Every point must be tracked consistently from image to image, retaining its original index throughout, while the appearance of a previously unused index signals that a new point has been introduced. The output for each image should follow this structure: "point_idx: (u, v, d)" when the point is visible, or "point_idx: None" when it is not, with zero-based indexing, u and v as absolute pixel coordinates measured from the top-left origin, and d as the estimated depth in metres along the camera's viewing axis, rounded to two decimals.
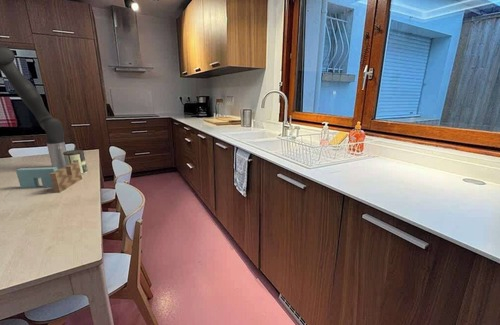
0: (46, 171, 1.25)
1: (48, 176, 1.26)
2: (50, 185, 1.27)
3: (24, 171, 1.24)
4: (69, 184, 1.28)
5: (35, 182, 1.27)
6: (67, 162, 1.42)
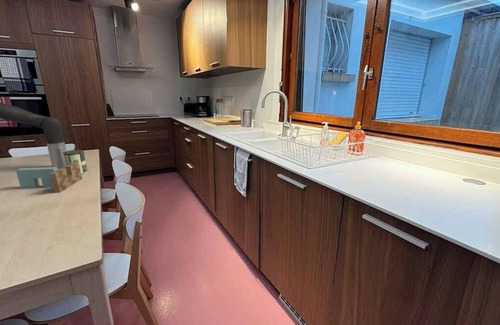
0: (46, 171, 1.25)
1: (48, 176, 1.26)
2: (50, 185, 1.27)
3: (24, 171, 1.24)
4: (69, 184, 1.28)
5: (35, 182, 1.27)
6: (67, 162, 1.42)
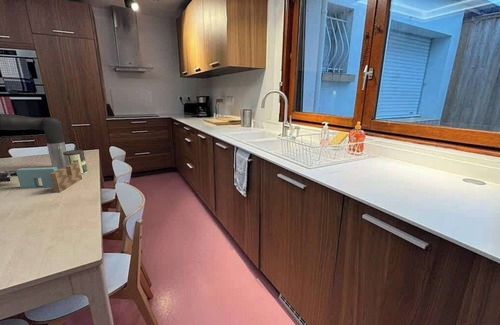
0: (46, 171, 1.25)
1: (48, 176, 1.26)
2: (50, 185, 1.27)
3: (24, 171, 1.24)
4: (69, 184, 1.28)
5: (35, 182, 1.27)
6: (67, 162, 1.42)
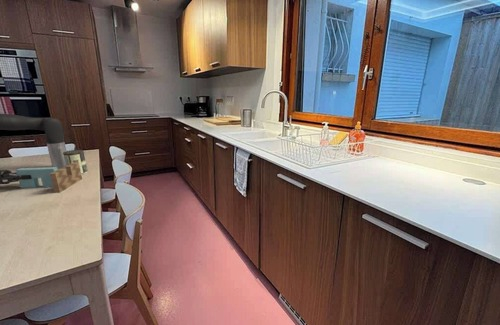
0: (46, 171, 1.25)
1: (48, 176, 1.26)
2: (50, 185, 1.27)
3: (24, 171, 1.24)
4: (69, 184, 1.28)
5: (35, 182, 1.27)
6: (67, 162, 1.42)
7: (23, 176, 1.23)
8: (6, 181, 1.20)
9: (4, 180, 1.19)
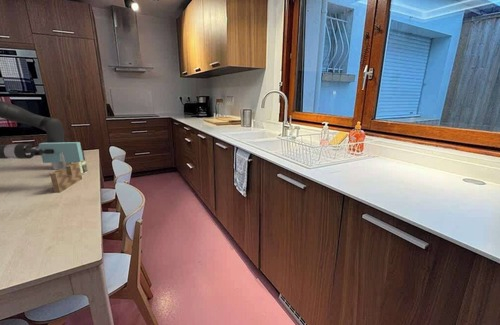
0: (69, 145, 1.23)
1: (71, 151, 1.23)
2: (73, 160, 1.25)
3: (47, 145, 1.21)
4: (69, 184, 1.28)
5: (57, 157, 1.24)
6: (67, 162, 1.42)
7: (46, 150, 1.21)
8: (29, 154, 1.17)
9: (27, 153, 1.17)
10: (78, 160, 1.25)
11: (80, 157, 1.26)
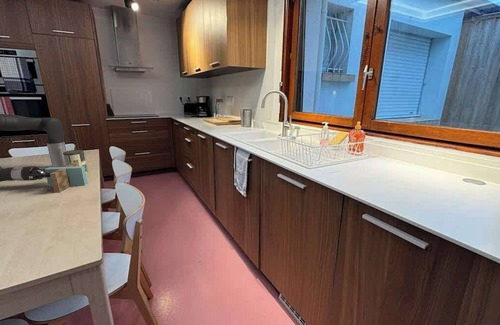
0: (74, 170, 1.26)
1: (76, 175, 1.27)
2: (78, 184, 1.29)
3: (53, 170, 1.25)
4: (69, 184, 1.28)
5: None
6: (67, 162, 1.42)
7: (46, 174, 1.22)
8: (31, 178, 1.20)
9: (29, 177, 1.20)
10: (83, 184, 1.29)
11: (85, 181, 1.29)
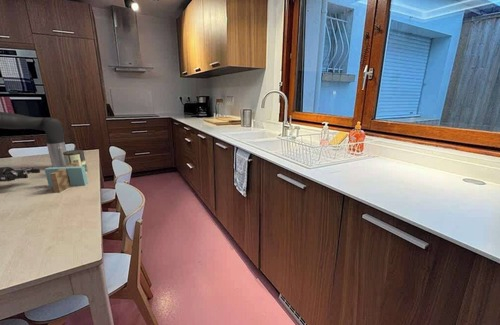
0: (74, 170, 1.26)
1: (76, 175, 1.27)
2: (78, 184, 1.29)
3: (53, 170, 1.25)
4: (69, 184, 1.28)
5: None
6: (67, 162, 1.42)
7: (19, 175, 1.21)
8: (3, 179, 1.19)
9: (2, 178, 1.18)
10: (83, 184, 1.29)
11: (85, 181, 1.29)
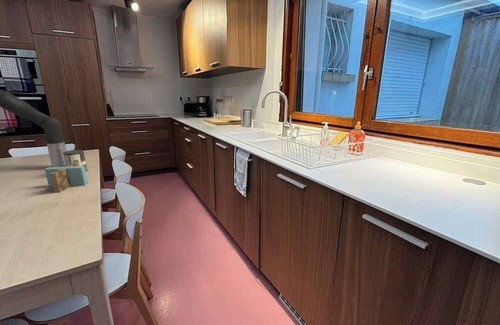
0: (74, 170, 1.26)
1: (76, 175, 1.27)
2: (78, 184, 1.29)
3: (52, 170, 1.25)
4: (69, 184, 1.28)
5: None
6: (67, 162, 1.42)
7: None
8: None
9: None
10: (83, 184, 1.29)
11: (85, 181, 1.29)
